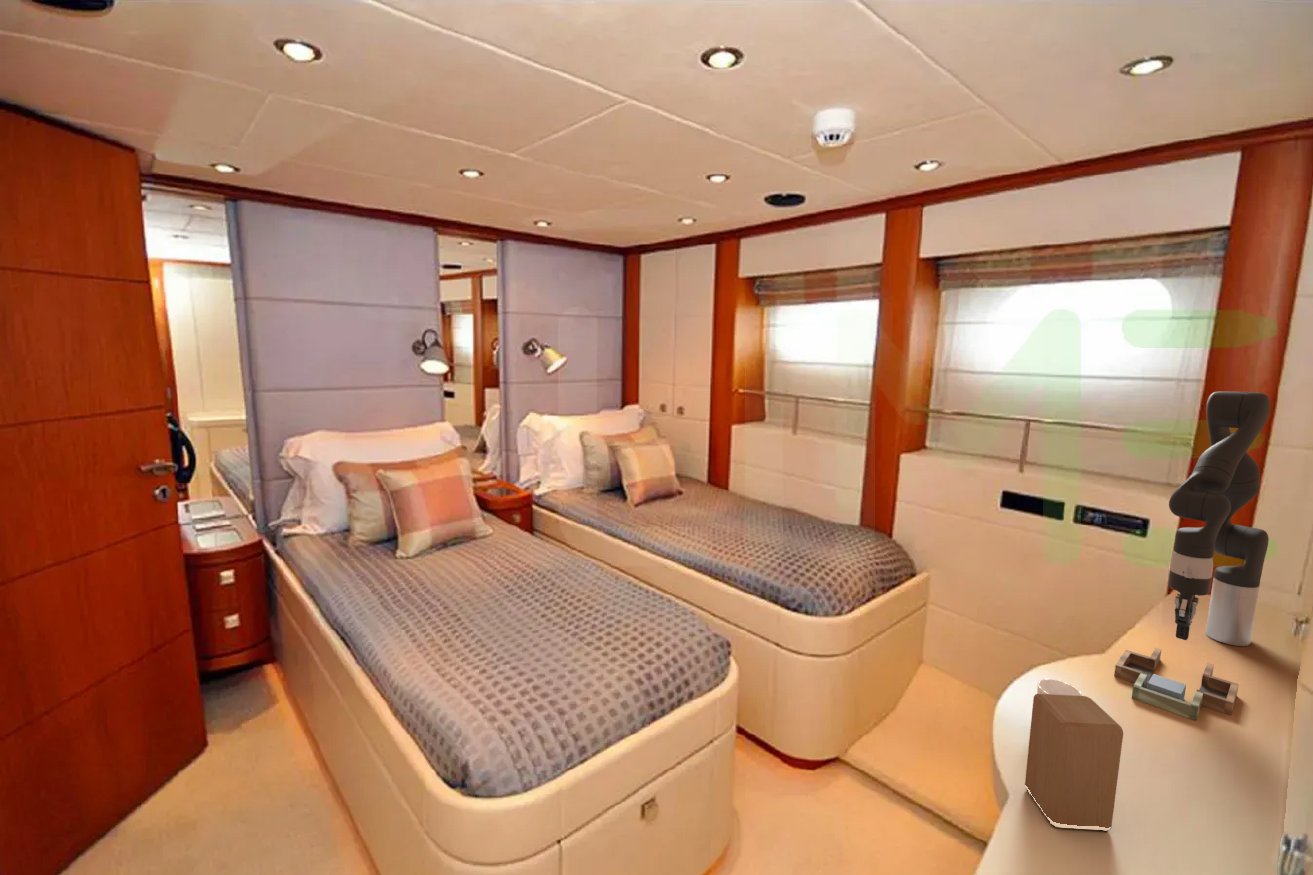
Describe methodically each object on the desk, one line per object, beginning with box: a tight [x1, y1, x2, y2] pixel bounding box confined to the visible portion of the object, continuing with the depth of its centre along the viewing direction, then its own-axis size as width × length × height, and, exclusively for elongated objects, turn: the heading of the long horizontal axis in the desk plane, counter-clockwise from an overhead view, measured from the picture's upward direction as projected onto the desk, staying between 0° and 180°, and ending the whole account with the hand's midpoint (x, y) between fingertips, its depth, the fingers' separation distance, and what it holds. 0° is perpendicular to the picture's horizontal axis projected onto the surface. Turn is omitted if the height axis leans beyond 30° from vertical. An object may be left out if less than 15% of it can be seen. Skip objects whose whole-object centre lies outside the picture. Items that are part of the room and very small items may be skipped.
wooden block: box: [1024, 693, 1124, 828], centre depth 104 cm, size 10×10×20 cm
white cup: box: [1036, 678, 1083, 696], centre depth 126 cm, size 8×8×10 cm
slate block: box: [1146, 673, 1187, 701], centre depth 138 cm, size 6×6×4 cm
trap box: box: [1113, 647, 1239, 721], centre depth 143 cm, size 27×21×3 cm
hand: (1181, 637), depth 143 cm, fingers closed
